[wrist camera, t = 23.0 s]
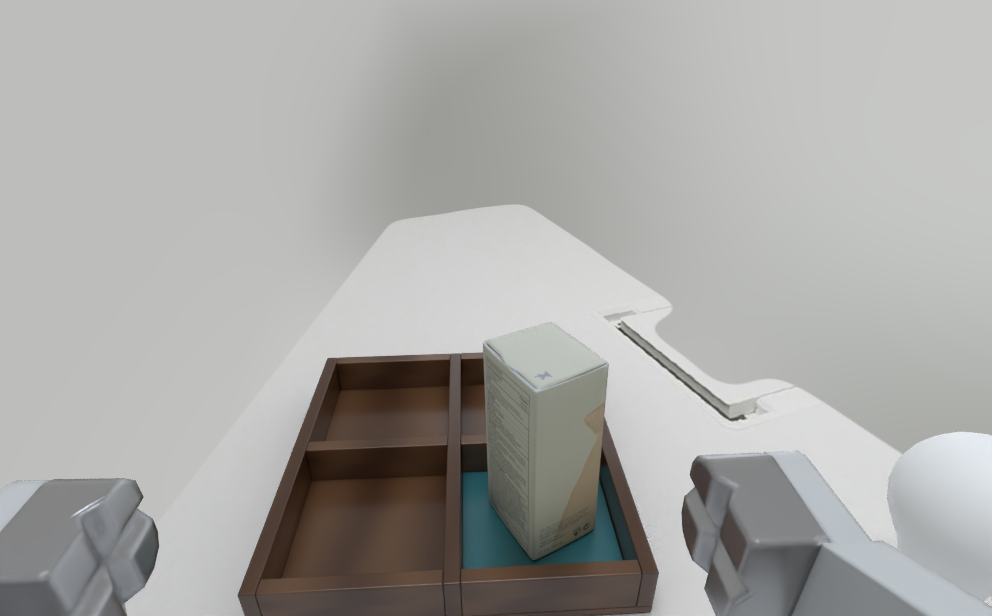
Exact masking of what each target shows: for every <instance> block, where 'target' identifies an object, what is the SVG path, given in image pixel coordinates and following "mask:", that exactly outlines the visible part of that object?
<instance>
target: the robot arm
mask: <svg viewBox="0 0 992 616" xmlns="http://www.w3.org/2000/svg"><path fill="white" fill-rule="evenodd" d="M690 477H691V479H692V481H693V483H694V485H695V487H694V488H693V489H692V490H691V491H690V492H689V493H688V494H687V495H685V497H684V502H683V507H682V526H683V533H684V537H685V541H686V545H687V548H688V550H689V553H690V555H691V558H692V560H693V561H694V562H695V563H696V564H697V565H699V566H700V567H701V568H702V569H704V570H705V571H706V572H707V573H708V577H707V581H706V584H705V588H704V589H705V591H706V594H707V596H708V598H709V601H710V603H711V605H712V608H713V610H714V612H715V615H716V616H992V607H991V606H989V605H988V604H986V603H984V602H983V601H981V600H979V599H978V598H976V597H974V596H973V595H971V594H970V593H968V592H966V591H965V590H963V589H961V588H960V587H958V586H956V585H955V584H953V583H951V582H950V581H948V580H947V579H945V578H943V577H942V576H940V575H938V574H937V573H935V572H933V571H932V570H930V569H928V568H927V567H925V566H924V565H922V564H920V563H919V562H917V561H915V560H914V559H912V558H910V557H909V556H907V555H905V554H904V553H902V552H901V551H899V550H897V549H896V548H894V547H892V546H891V545H889V544H887V543H886V542H884V541H872V540H871V539H870V538H869V536H868V535H867V534H866V532H865V531H864V530H863V528H862V527H861V526H860V525H859V523H858V522H857V521H856V519H855V518H854V517H853V516H852V514H851V513H850V512H849V510H848V509H847V508H846V507H845V505H844V504H843V503H842V501H841V500H840V499H839V498H838V496H837V495H836V494H835V492H834V491H833V490H832V488H831V487H830V486H829V485H828V483H827V482H826V481H825V479H824V478H823V477H822V476H821V474H820V473H819V472H818V470H817V469H816V468H815V467H814V465H813V464H812V463H811V461H810V460H809V459H808V458H807V456H806V455H804V454H802V453H801V452H799V451H780V452H764V453H741V454H721V455H700V456H697V457H696V459H695V460H694V461H693V463H692V467H691V471H690ZM142 499H143V495H142V493H141V491H140V489H139V487H138V485H137V483H136V481H135V480H131V479H125V478H121V479H120V478H115V479H54V480H34V481H33V480H32V481H31V480H28V481H15V482H13V483H11V484H9V485H6V486H4V487H2V488H1V489H0V616H127V613H126V608H125V604H124V603H125V602H126V601H128V600H129V599H130V598H131V597H133V596H134V595H135V594H136V593H138V592H139V591H140V590H141V589H143V588H144V587H145V585H146V583H147V581H148V579H149V577H150V575H151V573H152V571H153V569H154V566H155V562H156V557H157V553H158V549H159V541H158V531H157V528H156V526H155V523H154V521H153V519H152V518H151V517H149V516H148V515H146V514H144V513H143V512H142V511H140V510H139V509H137V507H138V506H139V504H140V502H141V501H142Z"/></svg>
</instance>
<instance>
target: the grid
mask: <svg viewBox="0 0 992 616" xmlns="http://www.w3.org/2000/svg"><path fill="white" fill-rule="evenodd" d="M658 575H659V572H658V569H657V566H656V563H655V560H654V557H653V554H652V552H651V549H650V546H649V543H648V540H647V537H646V534H645V532H644V529H643V526H642V523H641V520H640V517H639V514H638V512H637V509H636V506H635V503H634V500H633V497H632V494H631V491H630V489H629V486H628V483H627V480H626V477H625V474H624V471H623V469H622V466H621V463H620V460H619V457H618V454H617V451H616V449H615V446H614V443H613V440H612V437H611V434H610V431H609V428H608V426H607V423H606V420H605V417H604V423H603V435H602V448H601V459H600V471H599V482H598V495H597V507H596V518H595V528H594V529H593V530H592V531H590V532H588V533H587V534H585V535H583V536H581V537H580V538H578V539H576V540H574V541H572V542H570V543H569V544H567V545H565V546H563V547H561V548H559V549H557V550H555V551H553V552H551V553H549V554H547V555H545V556H543V557H541V558H539V559H537V560H532V559H531V558H530V557H529V555H528V554H527V553H526V552H525V550H524V549H523V548H522V547H521V545H520V544H519V543H518V541H517V540H516V539H515V537H514V536H513V535H512V533H511V532H510V531H509V529H508V528H507V527H506V525H505V524H504V523H503V521H502V520H501V519H500V517H499V516H498V514H497V513H496V511H495V510H494V508H493V507H492V505H491V504H490V502H489V492H488V464H487V438H486V410H485V383H484V356H483V353H461V354H460V353H458V354H430V355H402V356H373V357H345V358H328V359H327V361H326V364H325V367H324V369H323V372H322V374H321V377H320V380H319V382H318V385H317V388H316V390H315V393H314V395H313V398H312V401H311V403H310V406H309V409H308V411H307V414H306V417H305V419H304V422H303V424H302V427H301V430H300V432H299V435H298V438H297V440H296V443H295V446H294V448H293V451H292V453H291V456H290V459H289V461H288V464H287V467H286V469H285V472H284V475H283V477H282V480H281V482H280V485H279V488H278V490H277V493H276V496H275V498H274V501H273V503H272V506H271V509H270V511H269V514H268V517H267V519H266V522H265V525H264V527H263V530H262V532H261V535H260V538H259V540H258V543H257V546H256V548H255V551H254V554H253V556H252V559H251V561H250V564H249V567H248V569H247V572H246V575H245V577H244V580H243V582H242V585H241V588H240V590H239V593H238V598H239V601H240V604H241V606H242V609H243V612H244V615H245V616H588V615H606V614H624V613H641V612H651V609H652V604H653V599H654V594H655V589H656V584H657V579H658Z"/></svg>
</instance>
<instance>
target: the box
mask: <svg viewBox="0 0 992 616" xmlns="http://www.w3.org/2000/svg"><path fill="white" fill-rule="evenodd" d="M483 356H484V383H485V410H486V438H487V464H488V492H489V502H490V504H491V505H492V507H493V508H494V510H495V511H496V513H497V514H498V516H499V517H500V519H501V520H502V521H503V523H504V524H505V525H506V527H507V528H508V529H509V531H510V532H511V533H512V535H513V536H514V537H515V539H516V540H517V541H518V543H519V544H520V545H521V547H522V548H523V549H524V550H525V552H526V553H527V554H528V555H529V557H530V558H531V559H532V560H537V559H539V558H541V557H543V556H545V555H547V554H549V553H551V552H553V551H555V550H557V549H559V548H561V547H563V546H565V545H567V544H569V543H570V542H572V541H574V540H576V539H578V538H580V537H581V536H583V535H585V534H587V533H588V532H590V531H592V530H593V529H594V528H595V518H596V507H597V495H598V482H599V471H600V459H601V448H602V435H603V423H604V411H605V400H606V388H607V377H608V367H609V364H608V362H607V361H605V360H604V359H603V358H601V357H600V356H599V355H597V354H596V353H595V352H593V351H592V350H591V349H589V348H588V347H586V346H585V345H584V344H582V343H581V342H580V341H578V340H577V339H575V338H574V337H573V336H571V335H570V334H568V333H567V332H565V331H564V330H562V329H561V328H560V327H558V326H557V325H555V324H554V323H552V322H549V323H545V324H541V325H537V326H534V327H531V328H527V329H524V330H521V331H517V332H514V333H511V334H507V335H504V336H500V337H497V338H493V339H489V340H486V341H484V342H483Z"/></svg>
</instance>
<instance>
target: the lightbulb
mask: <svg viewBox="0 0 992 616" xmlns="http://www.w3.org/2000/svg"><path fill="white" fill-rule="evenodd" d="M887 500H888V504H889V508H890V512H891V517H892V521H893V524H894V527H895V530H896V533H897V538H898V549H897V550H899V551H901V552H902V553H904V554H905V555H907V556H909V557H910V558H912V559H914V560H915V561H917V562H919V563H920V564H922V565H924V566H925V567H927V568H928V569H930V570H932V571H933V572H935V573H937V574H938V575H940V576H942V577H943V578H945V579H947V580H948V581H950V582H951V583H953V584H955V585H956V586H958V587H960V588H961V589H963V590H965V591H966V592H968V593H970V594H971V595H973V596H974V597H976V598H978V599H979V600H981V601H984V600H986V599H987V598H988V597H990V596H992V435H987V434H980V433H971V432H954V433H947V434H942V435H937V436H934V437H931V438H928V439H926V440H923V441H921V442H918V443H917V444H915V445H914V446H913V447H911V448H910V449H909V450H908V451H906V452H905V453H904V454H903V455H902V456H901V457H900V458H899V459H898V461H897V462H896V464H895V465H894V467H893V469H892V472H891V474H890V476H889V482H888V493H887Z"/></svg>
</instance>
